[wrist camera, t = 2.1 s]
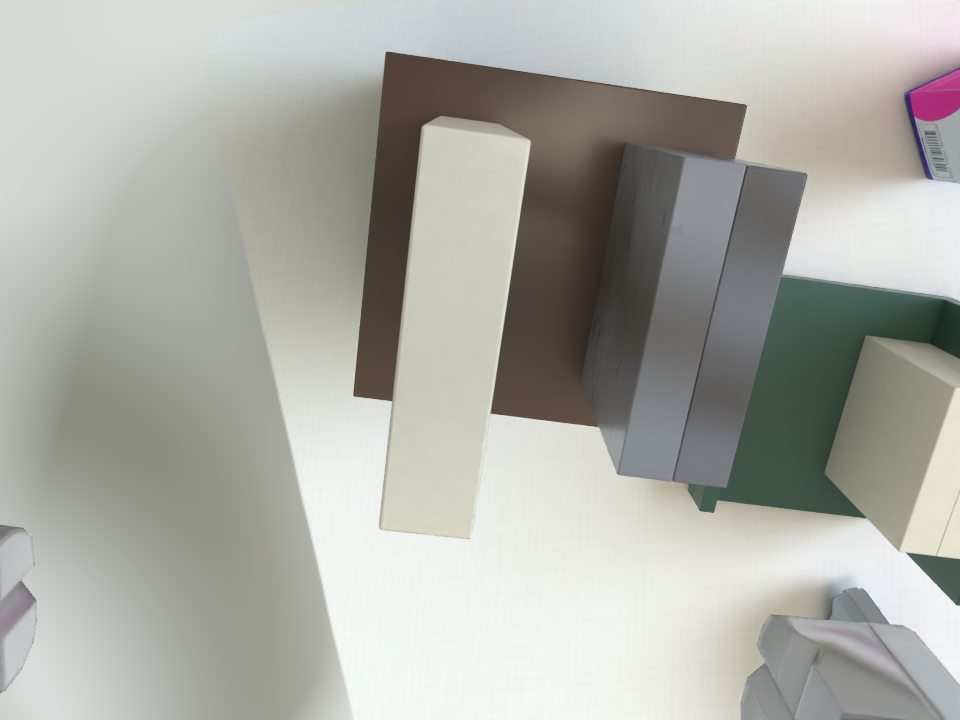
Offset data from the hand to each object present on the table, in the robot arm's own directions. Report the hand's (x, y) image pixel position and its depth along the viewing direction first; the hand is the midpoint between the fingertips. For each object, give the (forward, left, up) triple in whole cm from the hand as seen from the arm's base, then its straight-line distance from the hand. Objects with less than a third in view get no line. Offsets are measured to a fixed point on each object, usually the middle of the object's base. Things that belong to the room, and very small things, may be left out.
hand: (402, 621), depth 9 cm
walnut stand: (0, +4, -42) cm, 42 cm away
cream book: (0, 0, -24) cm, 24 cm away
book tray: (+10, +26, -42) cm, 50 cm away
